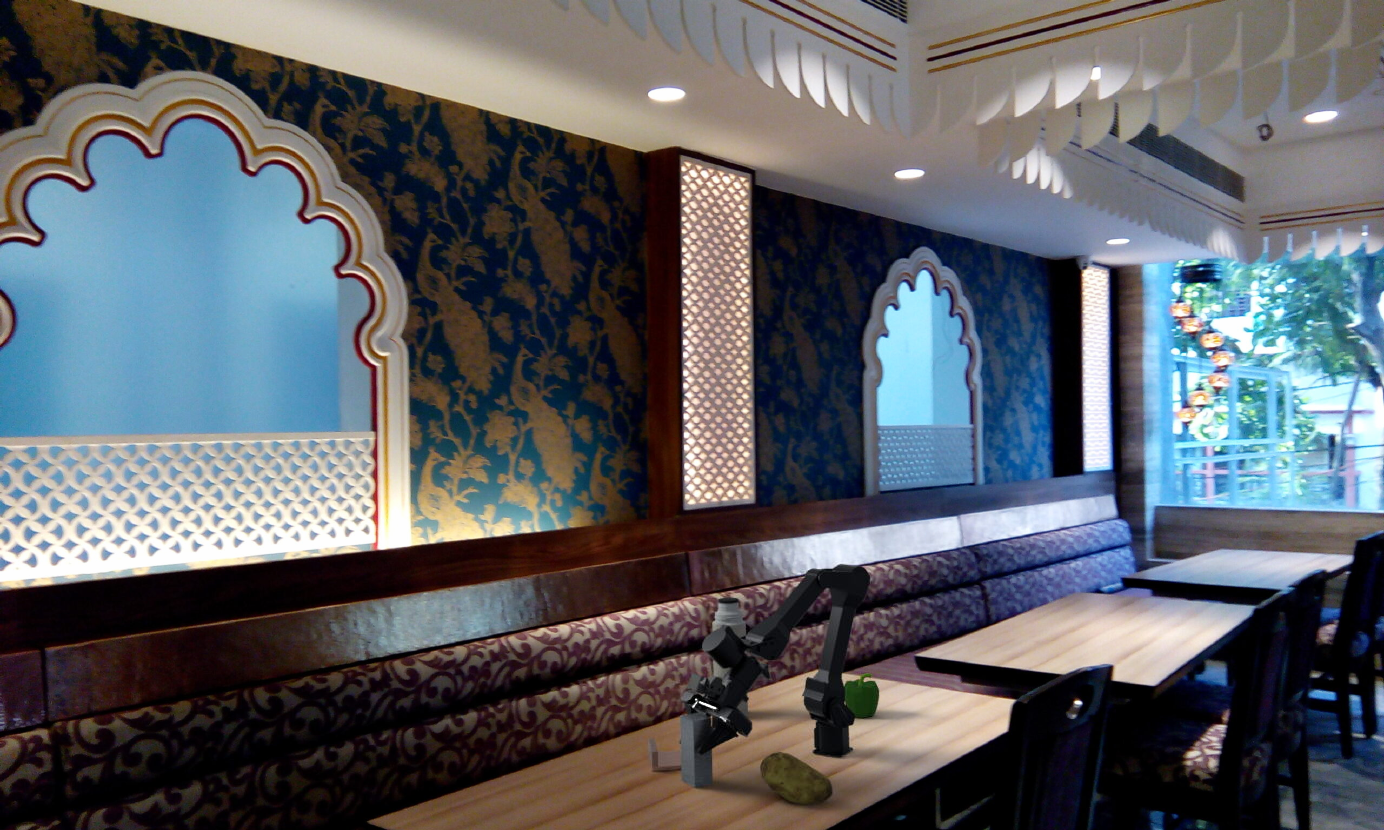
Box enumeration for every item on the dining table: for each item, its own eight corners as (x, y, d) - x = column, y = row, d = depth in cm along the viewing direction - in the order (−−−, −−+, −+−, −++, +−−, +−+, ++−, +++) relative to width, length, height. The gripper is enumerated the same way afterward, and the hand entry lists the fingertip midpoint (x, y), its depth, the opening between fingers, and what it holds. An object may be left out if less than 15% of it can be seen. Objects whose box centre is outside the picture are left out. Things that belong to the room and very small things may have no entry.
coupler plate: (695, 753, 214) (695, 734, 214) (702, 767, 204) (701, 748, 204) (648, 755, 213) (648, 737, 213) (652, 770, 203) (652, 751, 203)
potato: (810, 814, 177) (809, 768, 177) (753, 798, 186) (752, 754, 186) (838, 801, 183) (836, 756, 183) (781, 786, 192) (780, 743, 192)
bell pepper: (838, 717, 239) (836, 674, 239) (851, 709, 246) (850, 668, 246) (871, 722, 234) (870, 678, 235) (884, 713, 241) (883, 671, 242)
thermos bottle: (722, 709, 248) (719, 595, 249) (752, 712, 245) (749, 596, 246) (709, 718, 241) (706, 599, 242) (740, 721, 238) (737, 601, 239)
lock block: (699, 776, 199) (697, 712, 199) (712, 783, 194) (711, 717, 195) (681, 780, 197) (680, 715, 197) (694, 787, 192) (693, 721, 193)
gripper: (687, 650, 206) (640, 713, 200) (737, 665, 190) (688, 735, 184) (721, 683, 210) (676, 746, 204) (773, 701, 194) (725, 770, 188)
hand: (690, 748), depth 195 cm, fingers open, 7 cm apart
